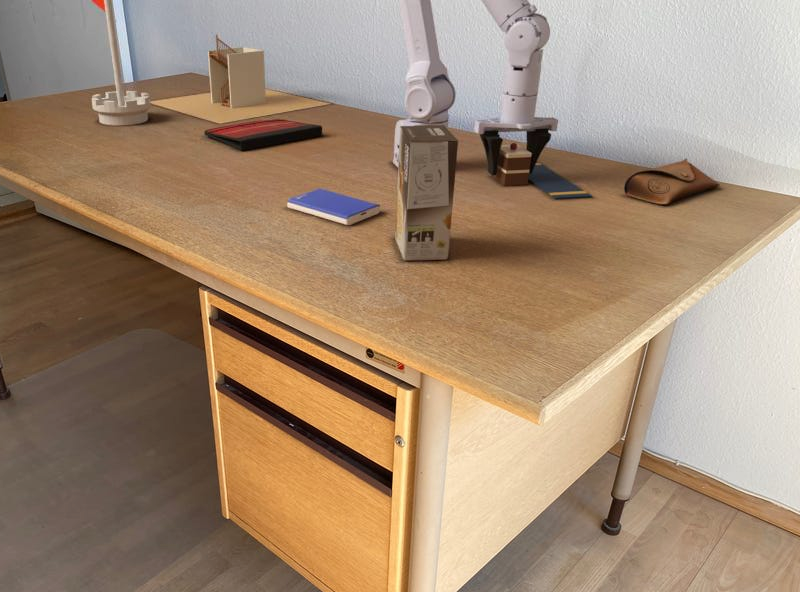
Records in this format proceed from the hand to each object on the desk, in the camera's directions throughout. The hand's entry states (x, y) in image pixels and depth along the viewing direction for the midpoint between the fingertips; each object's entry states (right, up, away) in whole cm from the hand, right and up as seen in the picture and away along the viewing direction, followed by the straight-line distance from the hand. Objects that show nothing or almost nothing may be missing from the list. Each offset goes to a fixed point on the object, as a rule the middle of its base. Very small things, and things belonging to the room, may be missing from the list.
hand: (510, 172), depth 132 cm
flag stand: (-81, +22, +41) cm, 93 cm away
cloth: (+7, -1, +1) cm, 7 cm away
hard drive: (-32, -10, -14) cm, 36 cm away
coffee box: (-19, -18, -28) cm, 39 cm away
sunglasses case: (+27, -4, -4) cm, 28 cm away
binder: (-47, +15, +28) cm, 57 cm away
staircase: (-56, +33, +59) cm, 88 cm away
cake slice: (0, -1, +1) cm, 1 cm away
